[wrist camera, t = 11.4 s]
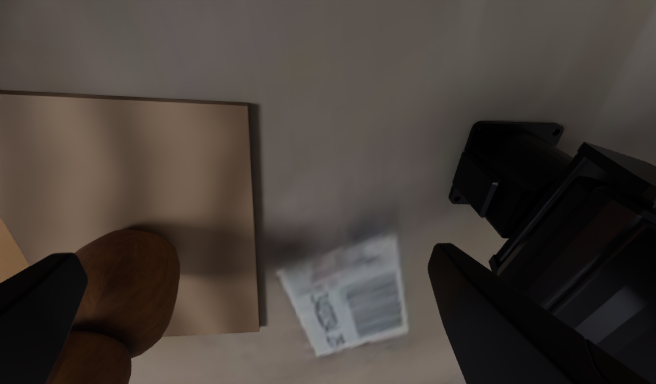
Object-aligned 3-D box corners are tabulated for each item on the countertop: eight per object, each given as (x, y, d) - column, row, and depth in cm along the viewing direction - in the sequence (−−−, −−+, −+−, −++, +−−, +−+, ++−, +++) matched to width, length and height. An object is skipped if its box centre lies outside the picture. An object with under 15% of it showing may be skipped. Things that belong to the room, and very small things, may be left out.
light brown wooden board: (249, 98, 20) (247, 106, 18) (260, 317, 31) (259, 331, 30) (-50, 82, 17) (-76, 90, 16) (83, 326, 29) (75, 341, 28)
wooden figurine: (92, 267, 24) (-128, 584, 11) (89, 207, 21) (-207, 540, 8) (187, 281, 25) (89, 567, 13) (197, 228, 23) (85, 526, 10)
